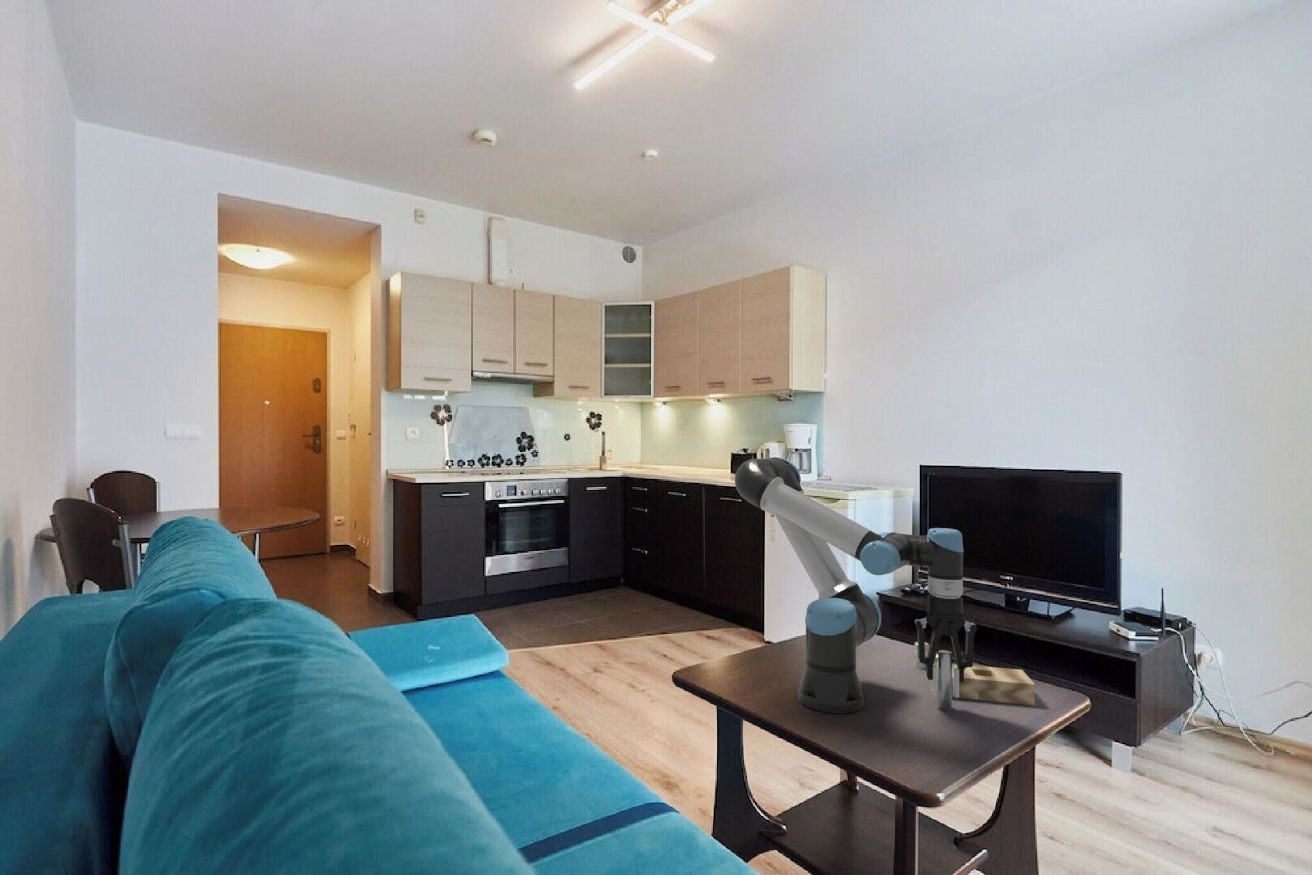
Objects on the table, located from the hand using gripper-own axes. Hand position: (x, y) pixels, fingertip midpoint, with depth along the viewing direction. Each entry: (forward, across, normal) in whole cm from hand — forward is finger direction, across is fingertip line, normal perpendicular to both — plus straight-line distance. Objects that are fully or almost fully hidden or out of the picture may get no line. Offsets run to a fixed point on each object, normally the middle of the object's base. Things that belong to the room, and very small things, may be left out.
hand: (945, 694), depth 149 cm
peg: (+3, 0, 0) cm, 3 cm away
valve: (+4, +3, +26) cm, 27 cm away
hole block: (+3, +11, +12) cm, 17 cm away
